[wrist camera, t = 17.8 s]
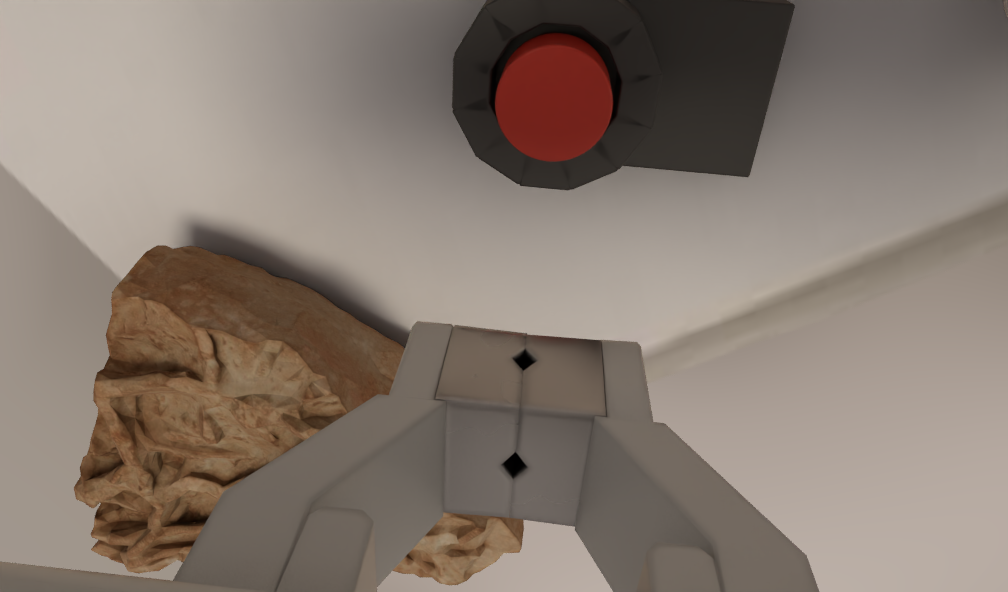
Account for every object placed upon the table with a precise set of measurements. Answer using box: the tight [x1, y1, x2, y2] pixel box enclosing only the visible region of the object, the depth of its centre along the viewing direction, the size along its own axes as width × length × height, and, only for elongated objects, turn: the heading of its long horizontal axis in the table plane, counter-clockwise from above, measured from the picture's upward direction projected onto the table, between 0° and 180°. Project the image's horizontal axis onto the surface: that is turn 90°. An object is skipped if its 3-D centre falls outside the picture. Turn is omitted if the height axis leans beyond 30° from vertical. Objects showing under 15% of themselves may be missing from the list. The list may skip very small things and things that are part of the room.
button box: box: [452, 0, 795, 190], centre depth 22 cm, size 10×6×4 cm, turn 86°
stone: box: [74, 246, 524, 585], centre depth 30 cm, size 18×10×15 cm
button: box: [495, 33, 613, 162], centre depth 21 cm, size 3×3×2 cm
